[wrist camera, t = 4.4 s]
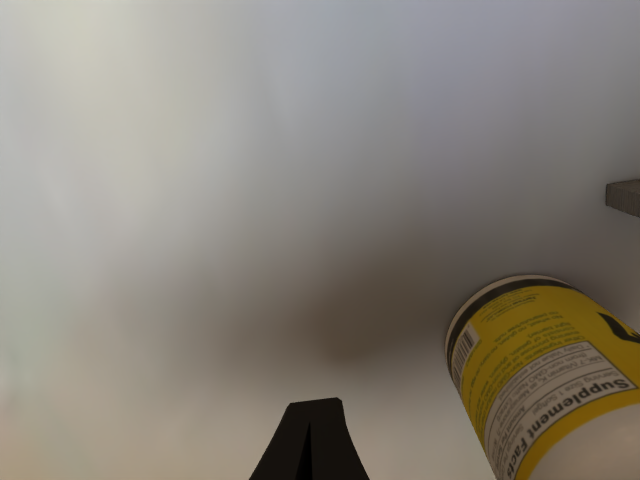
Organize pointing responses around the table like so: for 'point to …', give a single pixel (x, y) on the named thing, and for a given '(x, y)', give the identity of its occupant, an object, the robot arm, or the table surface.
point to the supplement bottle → (548, 381)
